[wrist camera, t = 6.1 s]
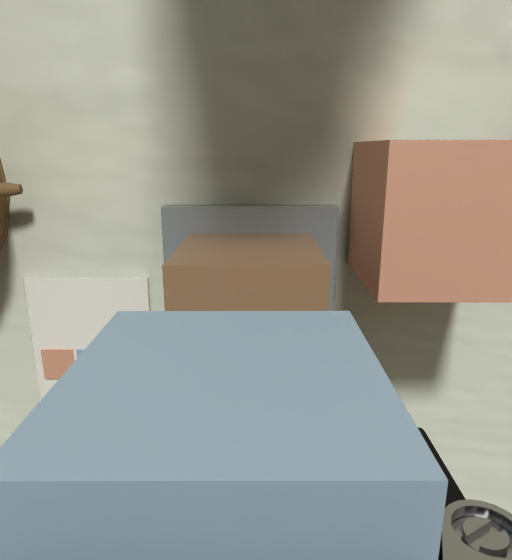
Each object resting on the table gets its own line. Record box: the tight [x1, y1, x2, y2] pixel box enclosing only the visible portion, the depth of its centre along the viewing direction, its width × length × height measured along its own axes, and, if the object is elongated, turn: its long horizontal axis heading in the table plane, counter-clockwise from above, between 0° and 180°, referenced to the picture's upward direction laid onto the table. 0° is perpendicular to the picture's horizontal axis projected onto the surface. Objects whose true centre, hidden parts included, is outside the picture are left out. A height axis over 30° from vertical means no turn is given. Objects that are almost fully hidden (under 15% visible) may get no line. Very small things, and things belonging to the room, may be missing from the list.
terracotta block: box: [348, 140, 512, 302], centre depth 19 cm, size 6×6×6 cm
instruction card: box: [24, 278, 150, 400], centre depth 24 cm, size 6×9×1 cm, turn 0°
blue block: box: [0, 311, 448, 560], centre depth 9 cm, size 6×6×6 cm
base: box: [161, 205, 339, 311], centre depth 20 cm, size 8×8×7 cm
